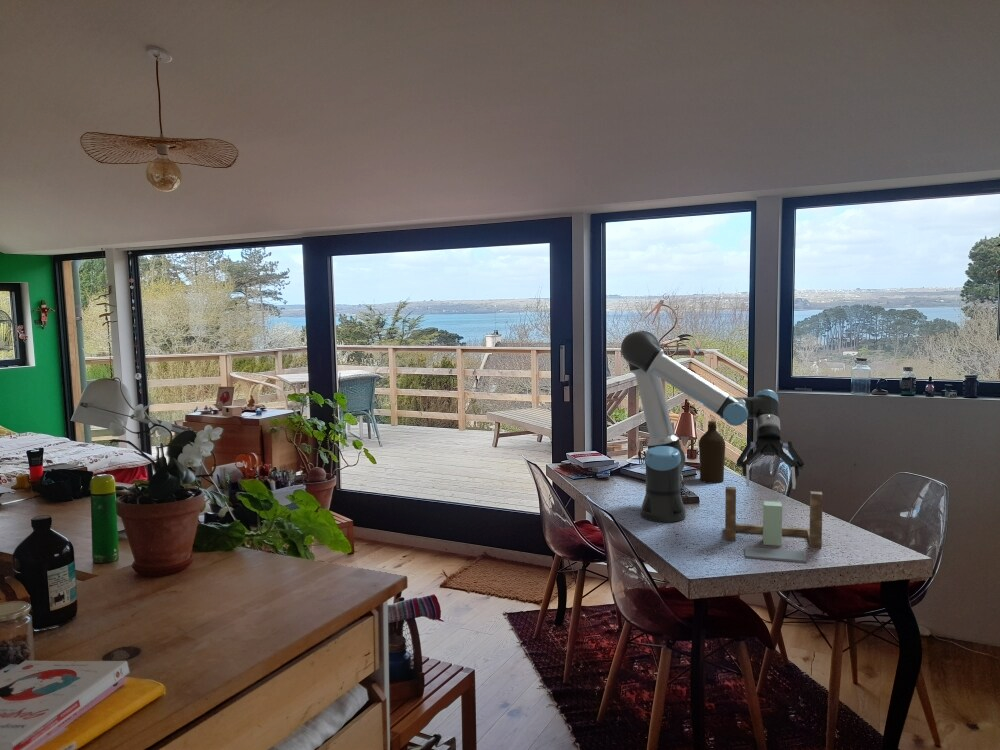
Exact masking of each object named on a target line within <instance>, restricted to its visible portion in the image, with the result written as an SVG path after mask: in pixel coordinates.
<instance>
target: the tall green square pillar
mask: <svg viewBox="0 0 1000 750" xmlns="http://www.w3.org/2000/svg"><path fill="white" fill-rule="evenodd" d="M762 505H763V508H762V525H763V533H762V542H763V545H765V546H767V545H768V546H778V547H779V546H780V547H781V546H783V545H782V544H783V541H782V539H783V535H782V527H783V504H782V501H771V500H770V501H767V500H763V502H762Z"/></svg>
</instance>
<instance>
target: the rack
mask: <svg viewBox="0 0 1000 750" xmlns="http://www.w3.org/2000/svg"><path fill="white" fill-rule="evenodd" d="M809 493H810V494H809V528H806V527H805V528H803V527H794V526H793V527H792V526H782V536H795V537H806V538H808V539H807V541H808V544H809V547H810V548H818V547H820V548H821V547H822V545H823V543H822V542H823V499H824V498H823V492H822V491H813V490H812V491H811V490H810V491H809ZM724 504H725V511H724V512H725V514H724V515H725V516H724V518H725V519H724V520H725V521H724V523H725V524H724V526H725V527H724V531H725V532H724V533H725V534H724V539H725V541H730V542H736V535H737V534H736V532H737V533H738V532H739V533H740V532H742V533H753V534H763V524H749V523H736V521H737V517H736V515H737V487H736V486H725V503H724ZM820 548H819V549H820ZM821 549H822V548H821Z"/></svg>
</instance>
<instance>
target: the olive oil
mask: <svg viewBox="0 0 1000 750" xmlns="http://www.w3.org/2000/svg"><path fill="white" fill-rule="evenodd" d="M707 423H708V424H707V431H705V433H703V435H702V436H701V437H700V438H699V442H698V456H699V457H698V458H699V479H700V481H701V480H702V481H701V482H703V481H705V482H704V483H708V482H720V483H722V482H724V481H725V480H724V477H725V459H726V457H725V456H726V442H725V439H724V437H723V436H722V435H721V434H720V433H719V432H718V430H717V421H716V420H708V421H707Z"/></svg>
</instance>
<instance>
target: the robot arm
mask: <svg viewBox="0 0 1000 750" xmlns="http://www.w3.org/2000/svg"><path fill="white" fill-rule="evenodd" d="M620 351H621V355H622V357H623V359H624V360H625V362H627V364H628V367H629V372H630V373H631V374H633V375H635V378H636V382H637V389H638V393H639V397H640V401H641V405H642V410H643V413H644V418H645V423H646V427H647V432H648V436H649V440H648V442H647V443H646V446H647V451H645V457H644V458H645V459H644V461H645V495H644V498H643V501H642V504H641V506H640V516H641V518H643V519H645V520H648V521H652V522H659V523H674V522H680V521H683V520H685V519H686V516H687V515H686V513H687V512H686V507H685V505H684V502H683V499H682V496H681V474H682V471H683V469H684V468H685V466H686V455H685V452H684V450H683V448H682V445H681V441H680V437H679V436H677V435H676V434H674V430H673V426H672V421H671V418H670V412H669V407H668V404H667V400H666V396H665V389H664V386H663V381H665V382H666V383H667V384H669V385H671V386H672V387H674V388H676V389H677V390H678V391H680V392H682V393H683V394H685V395H687V397H689V398H691V399H692V400H694V401H696V402H698V403H699V404H700V405H702V406H704V407H705V408H707V409H709V410H710V411H711V412H712V413H714V414H716V415H717V416H718V417H720V419H721V420H722V419H723V420H724V421H725V422H726V423H727V424H729V425H730V426H734V427H736V426H737V427H738V426H741V425H743V424H744V423H745V422H747V420H748V419H749V420H754V419H756V420H755V422H756V423H755V425H756V426H755V429H756V441H755V442H754V441H751V440H750V439H747V440H746V445H745V447H744V448H743V450H742V452H741V453H740V455H739V456H738V458H737V460H736V466H737V468H742V476H743V477H746V478H745V479H746V487H750V465H752V463H754V462H755V461H756V460H757V459H758V458H760V457H761V456H762V455H763V456H766V457H767V456H771V457H774V456H777V458H779V459H781V460H783V462H784V463H785V464H786V465H787V466H788V467H790V468H791V469H790V470H791V471H790V472H791V473H790V474H791V487H792V490H795V489H796V485H797V482H796V480H798V479H799V476H800V471H799V470H804V468H805V463H804V461H803V459H802V458H801V457H800V456H799V454H798V452H797V451H796V450H795V448H794V447H793V444H792V441H790V440H789V441H788V442H782V436H781V435H782V433H781V419H780V418H781V415H780V413H781V412H780V400H779V396H778V394H777V392H775V390H771V389H763V390H759V391H758V392H756V394H755V396H749V397H742V396H741V397H739V396H738V397H737V396H735V397H734V396H731V395H729V394H728V393H727V392H725V391H723V390H721V389H720V388H719V387H717V386H715V385H714V384H712V383H711V382H709V381H707V380H706V379H704V378H703V377H702V376H699V375H698V374H697V373H695V372H693V371H692V370H690V369H688V368H687V367H685V366H684V365H682V364H681V363H679V362H677V361H676V360H674V359H673V358H671V357H670V356H668V355H666V354H665V351H664V349H663V348H662V347H660V342H659V340H658V338H657V337H656V335H655V334H653V333H651V332H650V331H646V330H639V331H634V332H630V333H628V334H627V335H626V336H624V338H623V340H622V342H621V345H620ZM662 380H663V381H662ZM754 447H755V448H756V449H755V451H753V452H752V453H751V454H750V455H749V453H750V451H751V450H753V448H754ZM783 448H784V449H785V450H786V451H788V453H789V455H790V456H789V455H788V454H787V453H786V452H785V451H784V449H783ZM748 455H749V456H748ZM747 456H748V457H747Z"/></svg>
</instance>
